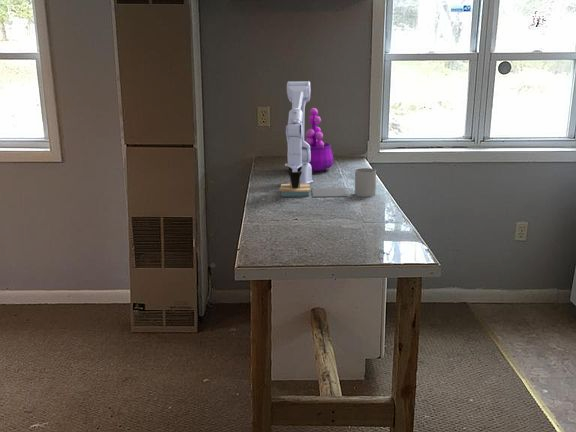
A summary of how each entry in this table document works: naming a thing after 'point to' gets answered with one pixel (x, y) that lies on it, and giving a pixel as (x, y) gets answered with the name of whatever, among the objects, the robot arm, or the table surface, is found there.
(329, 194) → the rubber mat
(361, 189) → the cup
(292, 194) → the teal dish
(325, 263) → the table surface
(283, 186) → the oak cover
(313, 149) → the decorative plant
